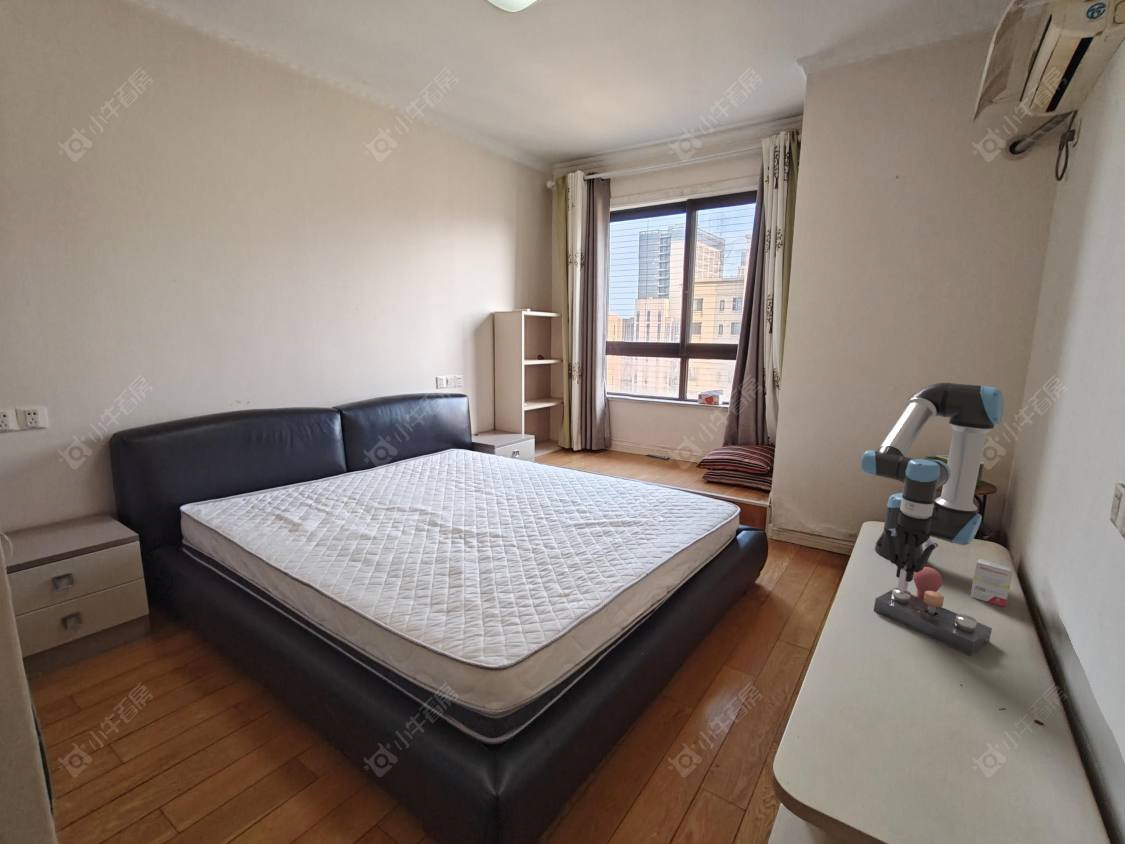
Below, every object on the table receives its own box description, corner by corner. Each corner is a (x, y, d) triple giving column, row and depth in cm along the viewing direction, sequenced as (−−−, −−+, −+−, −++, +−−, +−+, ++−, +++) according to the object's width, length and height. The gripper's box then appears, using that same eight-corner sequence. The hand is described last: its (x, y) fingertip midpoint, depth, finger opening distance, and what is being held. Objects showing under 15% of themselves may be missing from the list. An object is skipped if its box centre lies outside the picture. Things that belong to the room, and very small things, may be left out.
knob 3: (956, 632, 140) (960, 612, 139) (975, 640, 136) (979, 620, 135) (949, 637, 138) (953, 617, 136) (968, 645, 134) (973, 625, 133)
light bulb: (942, 612, 150) (949, 575, 148) (915, 609, 152) (922, 572, 149) (930, 600, 157) (937, 564, 155) (904, 597, 158) (911, 561, 156)
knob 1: (894, 604, 153) (897, 586, 152) (910, 611, 149) (913, 593, 148) (886, 608, 151) (889, 590, 150) (902, 615, 147) (906, 597, 146)
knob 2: (925, 608, 146) (929, 589, 145) (943, 615, 142) (947, 596, 141) (918, 612, 144) (921, 593, 142) (936, 620, 140) (939, 600, 139)
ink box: (1006, 601, 157) (1014, 566, 155) (1005, 607, 154) (1013, 571, 152) (971, 591, 163) (978, 557, 161) (969, 596, 160) (976, 562, 157)
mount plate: (893, 599, 157) (895, 587, 156) (989, 641, 137) (992, 628, 136) (873, 610, 150) (875, 598, 150) (970, 656, 131) (973, 642, 130)
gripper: (884, 508, 147) (872, 582, 152) (935, 524, 137) (921, 603, 142) (897, 504, 151) (885, 576, 156) (947, 519, 141) (933, 596, 146)
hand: (902, 589), depth 149 cm, fingers closed
